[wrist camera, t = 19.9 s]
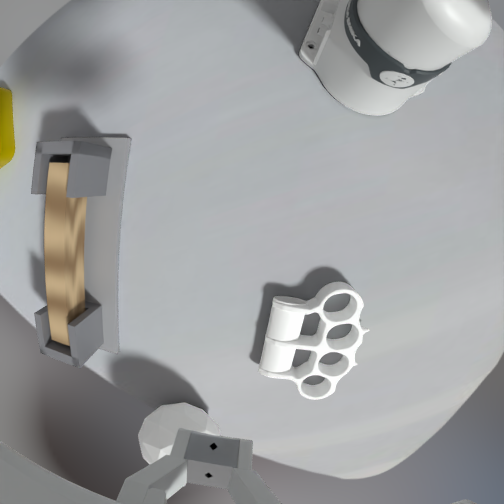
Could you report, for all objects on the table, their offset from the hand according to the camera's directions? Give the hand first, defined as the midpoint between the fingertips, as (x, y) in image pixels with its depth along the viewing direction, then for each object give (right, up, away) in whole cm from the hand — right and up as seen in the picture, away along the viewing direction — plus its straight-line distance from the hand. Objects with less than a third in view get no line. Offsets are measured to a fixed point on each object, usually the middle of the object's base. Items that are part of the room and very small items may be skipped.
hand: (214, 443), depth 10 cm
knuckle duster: (+11, -5, +32) cm, 34 cm away
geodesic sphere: (-9, -20, +35) cm, 41 cm away
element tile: (-47, +29, +26) cm, 61 cm away
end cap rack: (-23, +8, +29) cm, 38 cm away
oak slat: (-23, +8, +26) cm, 36 cm away
